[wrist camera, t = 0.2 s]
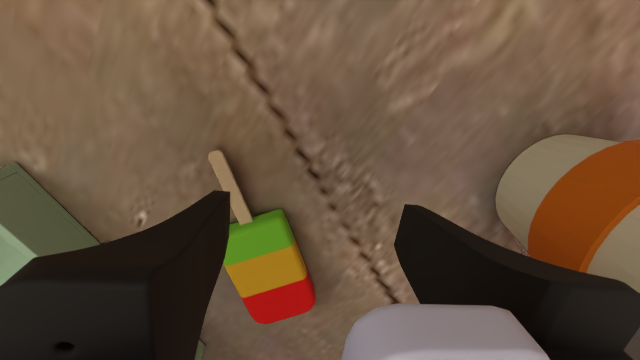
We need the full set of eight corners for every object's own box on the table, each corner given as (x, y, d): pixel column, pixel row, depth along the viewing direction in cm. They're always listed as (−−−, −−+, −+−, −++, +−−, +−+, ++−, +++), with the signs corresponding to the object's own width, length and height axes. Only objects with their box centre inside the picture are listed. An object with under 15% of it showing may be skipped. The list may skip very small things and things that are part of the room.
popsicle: (257, 312, 27) (256, 330, 26) (177, 158, 21) (168, 168, 20) (317, 293, 27) (320, 310, 26) (254, 134, 21) (252, 142, 19)
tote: (205, 344, 28) (193, 389, 25) (99, 395, 29) (72, 446, 26) (15, 161, 20) (-44, 187, 16) (-121, 241, 21) (-205, 282, 18)
